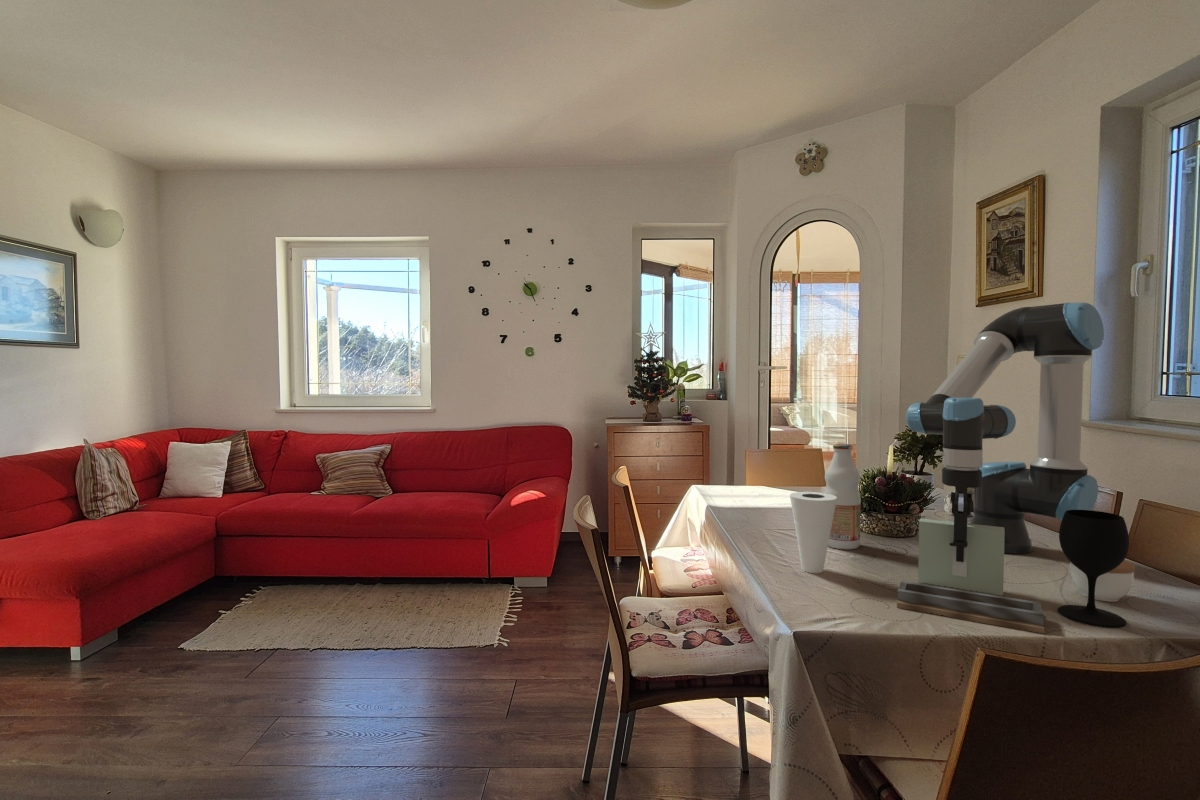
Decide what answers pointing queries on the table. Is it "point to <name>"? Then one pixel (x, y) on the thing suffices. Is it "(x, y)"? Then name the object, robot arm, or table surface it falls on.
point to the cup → (813, 527)
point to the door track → (972, 606)
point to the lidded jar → (1106, 582)
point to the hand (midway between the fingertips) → (959, 572)
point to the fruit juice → (844, 498)
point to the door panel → (981, 556)
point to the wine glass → (1093, 558)
